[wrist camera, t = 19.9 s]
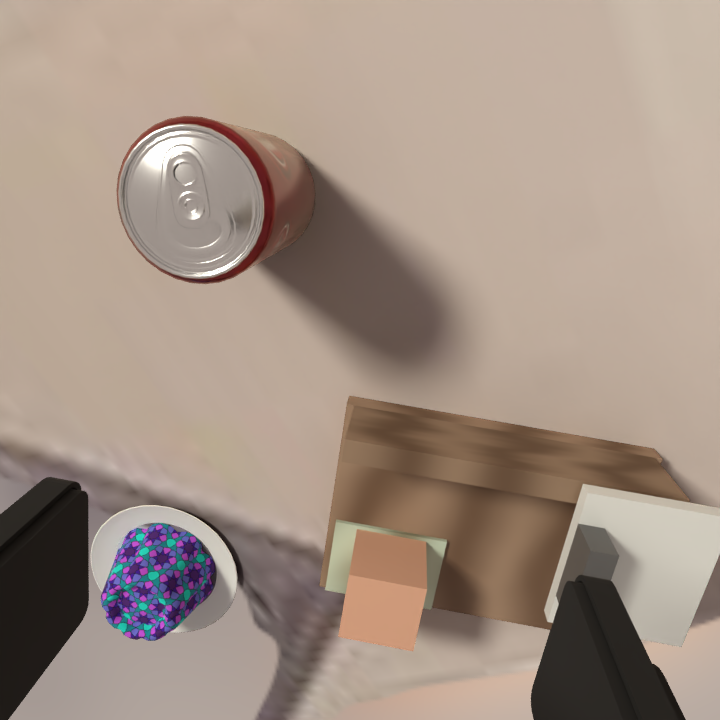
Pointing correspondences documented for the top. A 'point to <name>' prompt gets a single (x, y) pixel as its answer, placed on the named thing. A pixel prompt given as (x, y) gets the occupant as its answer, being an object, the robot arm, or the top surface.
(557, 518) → the puzzle board
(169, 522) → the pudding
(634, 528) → the sliding lid
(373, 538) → the terracotta block
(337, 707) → the top surface
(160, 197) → the soda can
